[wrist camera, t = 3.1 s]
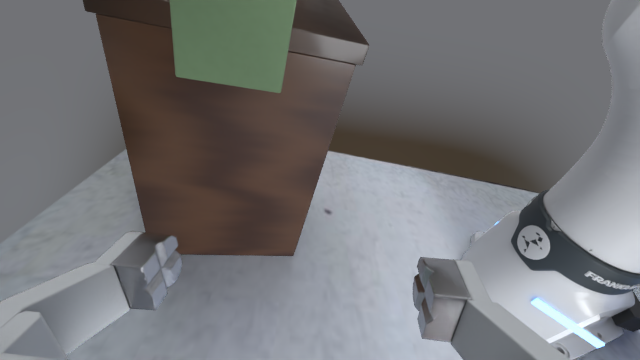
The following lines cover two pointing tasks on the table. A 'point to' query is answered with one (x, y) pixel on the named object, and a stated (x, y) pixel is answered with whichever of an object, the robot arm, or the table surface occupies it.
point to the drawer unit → (227, 129)
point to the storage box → (232, 41)
